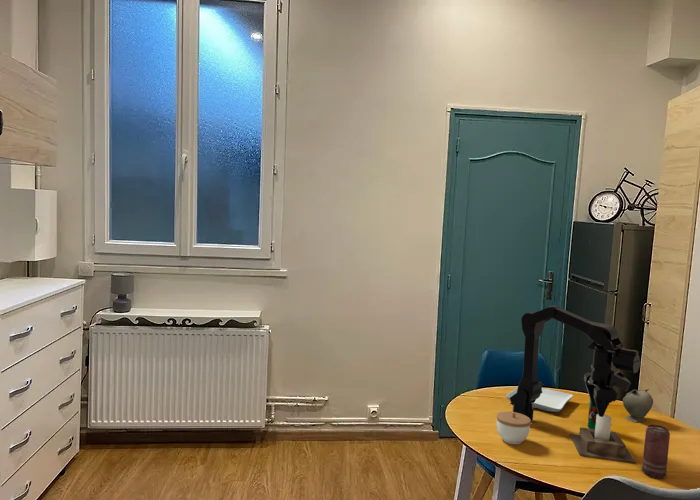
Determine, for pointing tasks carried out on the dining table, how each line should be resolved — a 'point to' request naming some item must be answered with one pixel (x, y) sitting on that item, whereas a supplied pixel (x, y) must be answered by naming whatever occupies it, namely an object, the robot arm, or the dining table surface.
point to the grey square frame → (601, 446)
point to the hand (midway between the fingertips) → (597, 411)
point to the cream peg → (602, 427)
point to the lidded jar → (513, 427)
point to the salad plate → (548, 400)
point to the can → (656, 451)
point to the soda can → (592, 416)
